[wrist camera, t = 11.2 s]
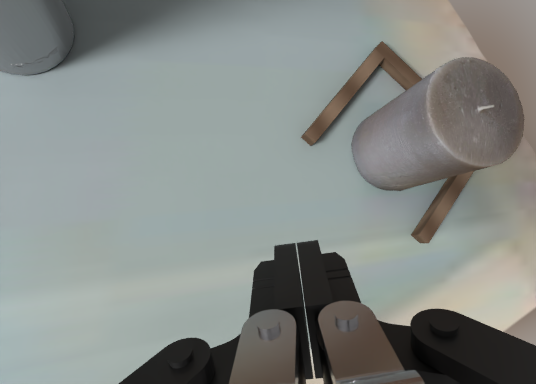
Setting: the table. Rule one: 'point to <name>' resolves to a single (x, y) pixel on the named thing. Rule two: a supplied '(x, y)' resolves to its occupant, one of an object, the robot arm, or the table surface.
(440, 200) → the wooden u-shaped frame
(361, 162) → the pillar candle
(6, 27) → the robot arm
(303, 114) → the table surface
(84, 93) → the table surface
